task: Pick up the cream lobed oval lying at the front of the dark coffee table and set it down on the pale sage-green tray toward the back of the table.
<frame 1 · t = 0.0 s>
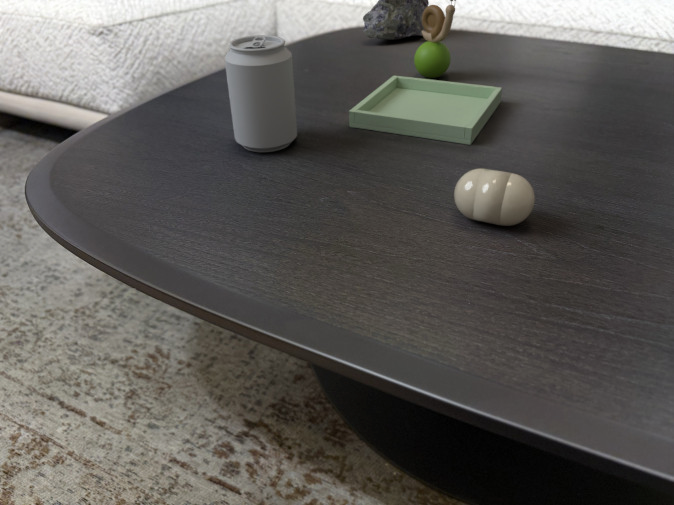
snail figurine: (433, 79, 92), on the table
can: (267, 144, 73), on the table
cream lobed oval: (490, 219, 56), on the table
mineral rock: (396, 38, 113), on the table
tray: (427, 114, 79), on the table
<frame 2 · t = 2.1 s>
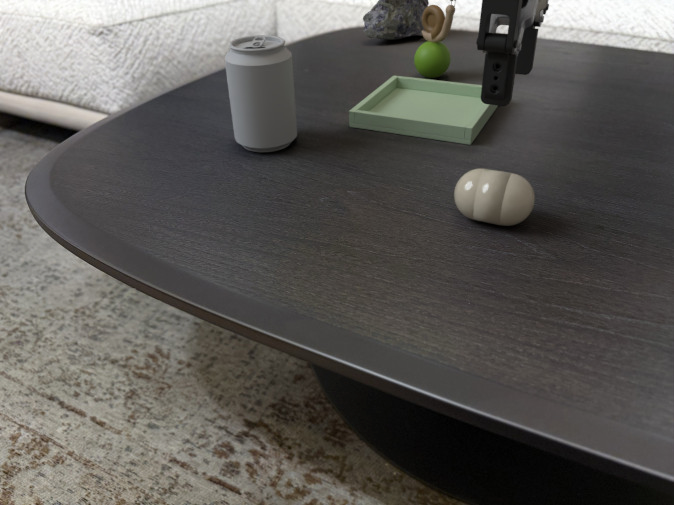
hand: (507, 87, 49), 13 cm above the table, tool pointing down, fingers open, 8 cm apart
nothing on the table moved.
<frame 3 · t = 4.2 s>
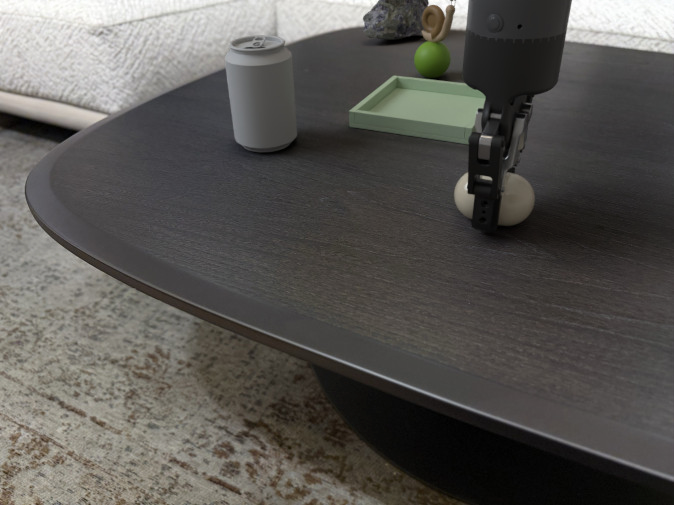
hand: (491, 214, 56), 1 cm above the table, tool pointing down, fingers closed on cream lobed oval, 4 cm apart
cream lobed oval: (490, 219, 56), on the table, touching gripper
everything else where it was.
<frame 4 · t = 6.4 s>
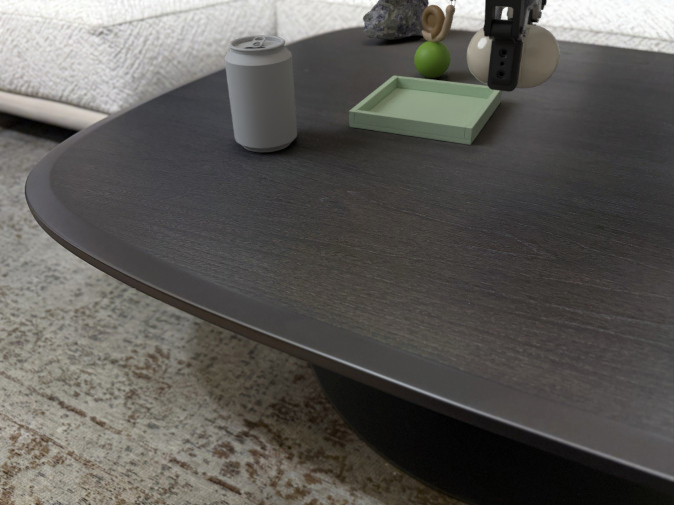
hand: (509, 78, 49), 13 cm above the table, tool pointing down, fingers closed on cream lobed oval, 4 cm apart
cream lobed oval: (508, 85, 49), point 13 cm above the table, touching gripper
everything else where it was.
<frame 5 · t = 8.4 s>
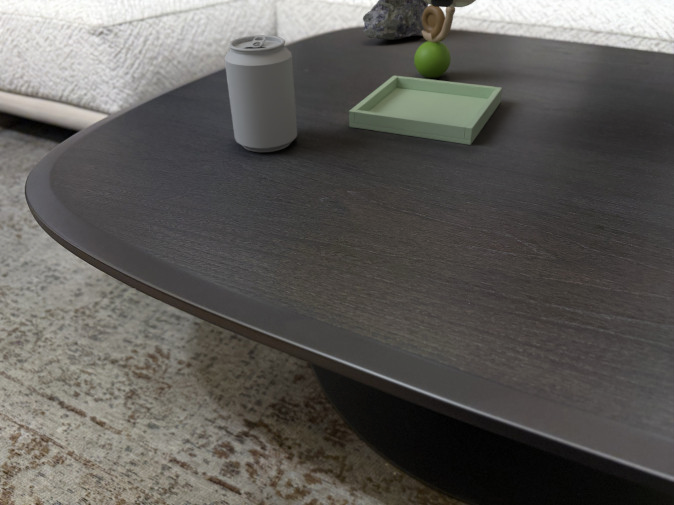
hand: (448, 0, 65), 15 cm above the table, tool pointing down, fingers closed on cream lobed oval, 4 cm apart
cream lobed oval: (448, 6, 65), point 15 cm above the table, touching gripper
everything else where it was.
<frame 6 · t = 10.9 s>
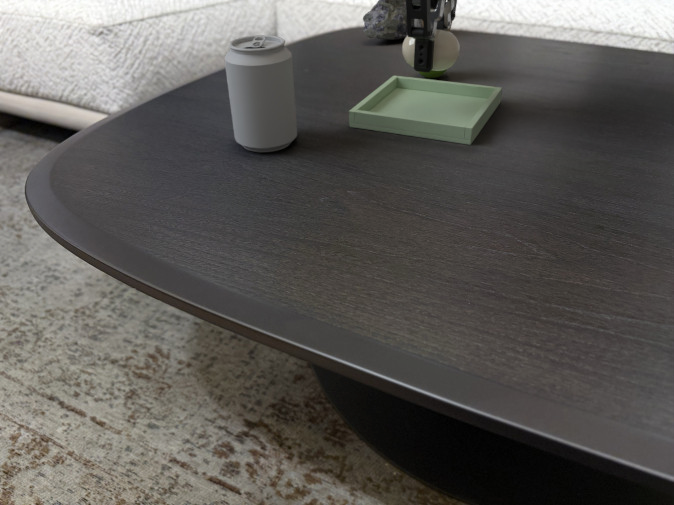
hand: (430, 64, 76), 7 cm above the table, tool pointing down, fingers closed on cream lobed oval, 4 cm apart
cream lobed oval: (429, 69, 76), point 6 cm above the table, touching gripper
everything else where it was.
when the fingers open (1 cm above the table, at t = 12.6 s): cream lobed oval stays where it is, resting on tray.
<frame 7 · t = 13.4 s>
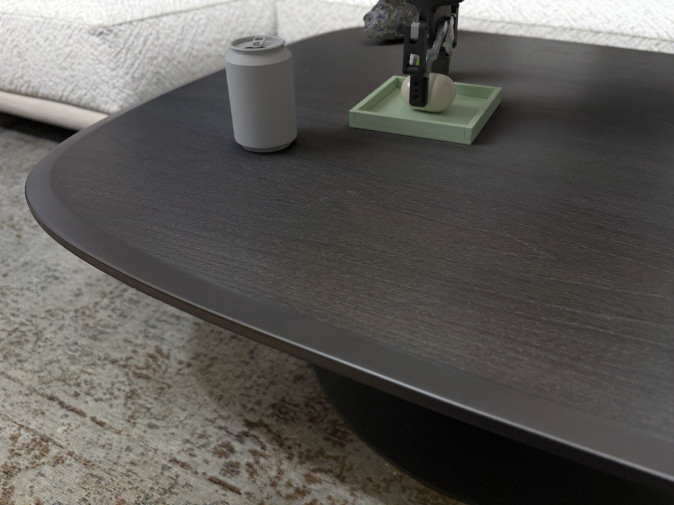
hand: (429, 95, 78), 3 cm above the table, tool pointing down, fingers open, 8 cm apart
cream lobed oval: (427, 109, 79), point 1 cm above the table, touching tray
everything else where it was.
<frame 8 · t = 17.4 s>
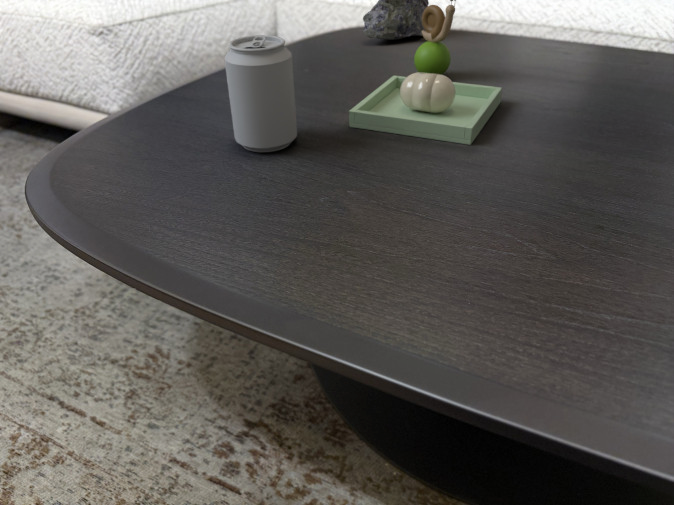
cream lobed oval: (427, 109, 79), point 1 cm above the table, tilted 7°, touching tray
everything else where it was.
at the end: cream lobed oval inside the target area in the tray (0.1 cm from its centre), point 0.6 cm above the tray's base; the gripper is holding nothing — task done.
